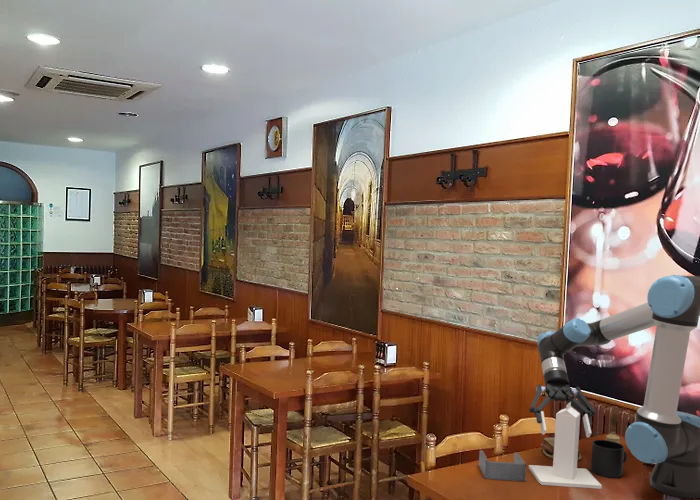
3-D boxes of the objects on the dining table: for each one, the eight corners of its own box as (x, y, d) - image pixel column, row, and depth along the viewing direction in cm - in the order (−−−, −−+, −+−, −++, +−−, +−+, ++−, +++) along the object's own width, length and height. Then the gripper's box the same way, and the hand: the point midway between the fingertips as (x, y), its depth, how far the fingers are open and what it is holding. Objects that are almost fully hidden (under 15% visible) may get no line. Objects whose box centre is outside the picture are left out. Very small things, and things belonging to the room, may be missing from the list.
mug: (636, 477, 199) (637, 448, 199) (603, 478, 196) (605, 449, 196) (615, 466, 208) (617, 438, 208) (584, 468, 205) (586, 440, 205)
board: (585, 471, 201) (585, 468, 201) (601, 488, 187) (601, 485, 187) (528, 468, 202) (528, 464, 202) (540, 484, 188) (540, 481, 188)
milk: (576, 474, 196) (581, 403, 195) (572, 480, 191) (577, 407, 190) (556, 469, 199) (561, 399, 199) (551, 475, 194) (556, 403, 193)
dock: (516, 468, 201) (517, 452, 201) (525, 481, 190) (526, 464, 190) (478, 465, 201) (479, 450, 201) (484, 478, 190) (485, 462, 190)
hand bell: (595, 450, 224) (598, 405, 224) (606, 446, 230) (608, 402, 229) (618, 457, 218) (621, 411, 218) (629, 452, 224) (631, 407, 223)
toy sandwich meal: (553, 463, 208) (553, 449, 208) (535, 449, 222) (535, 436, 222) (588, 463, 210) (589, 449, 210) (568, 450, 224) (569, 436, 224)
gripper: (590, 383, 211) (604, 442, 196) (514, 378, 212) (523, 437, 197) (596, 370, 205) (611, 430, 191) (519, 366, 206) (528, 425, 191)
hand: (566, 434), depth 194 cm, fingers open, 13 cm apart
